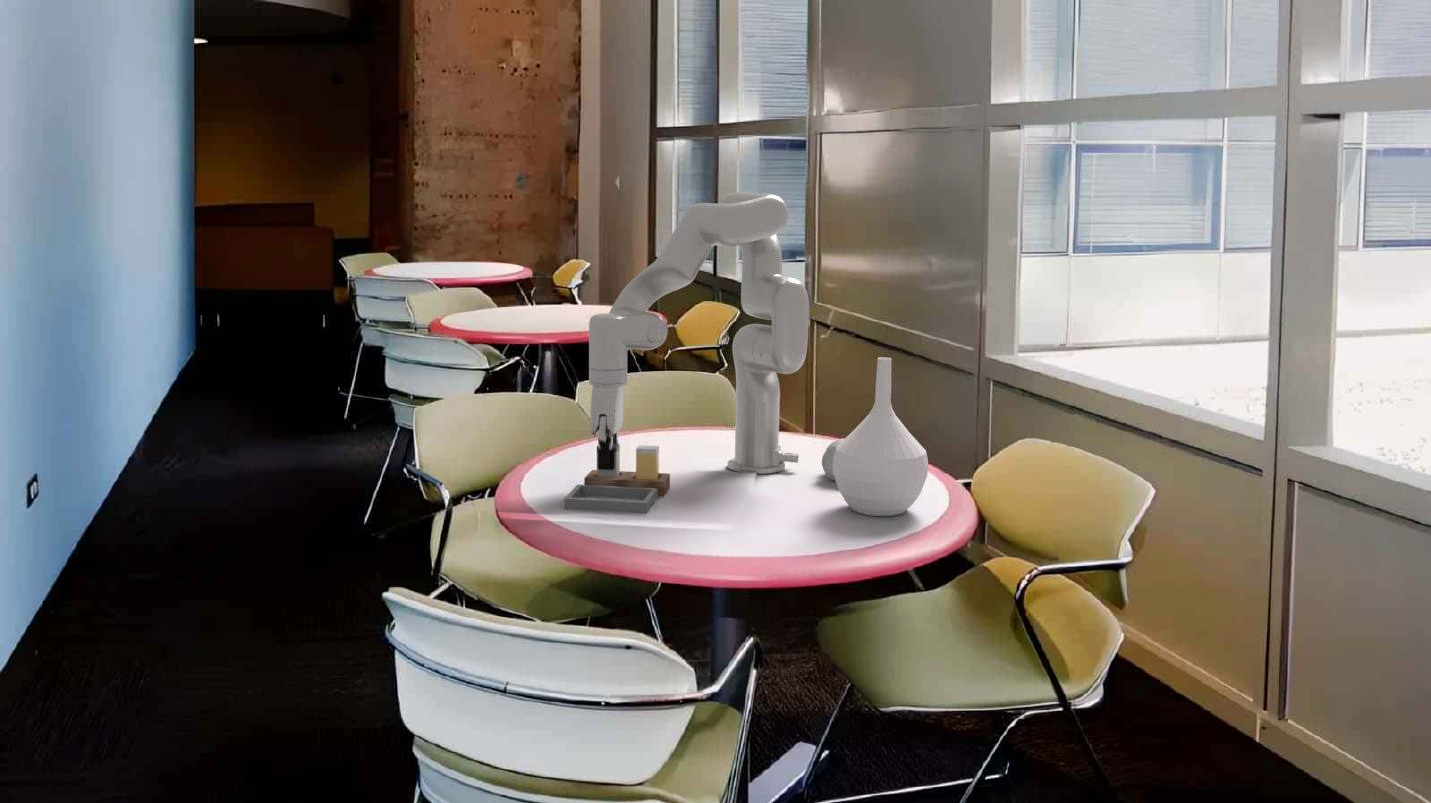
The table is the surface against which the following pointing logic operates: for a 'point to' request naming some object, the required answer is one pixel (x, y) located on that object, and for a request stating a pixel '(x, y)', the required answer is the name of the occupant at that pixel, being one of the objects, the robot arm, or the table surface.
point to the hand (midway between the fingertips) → (608, 466)
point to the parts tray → (579, 503)
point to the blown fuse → (616, 471)
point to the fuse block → (630, 481)
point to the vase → (880, 458)
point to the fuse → (647, 462)
